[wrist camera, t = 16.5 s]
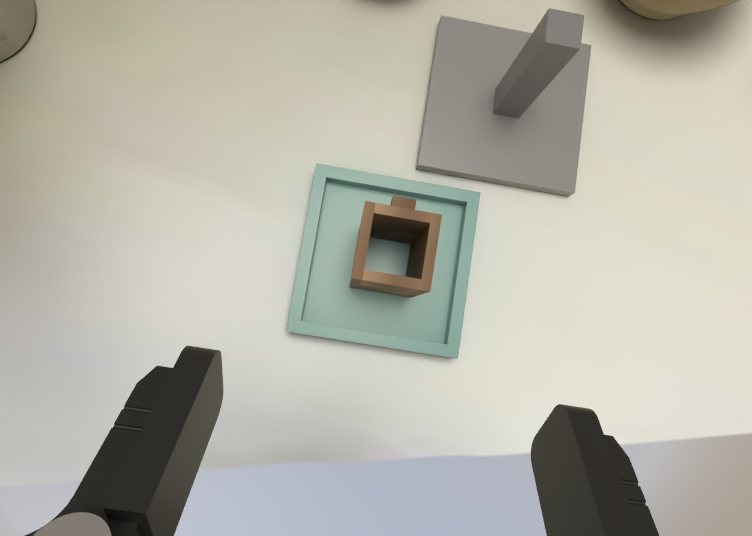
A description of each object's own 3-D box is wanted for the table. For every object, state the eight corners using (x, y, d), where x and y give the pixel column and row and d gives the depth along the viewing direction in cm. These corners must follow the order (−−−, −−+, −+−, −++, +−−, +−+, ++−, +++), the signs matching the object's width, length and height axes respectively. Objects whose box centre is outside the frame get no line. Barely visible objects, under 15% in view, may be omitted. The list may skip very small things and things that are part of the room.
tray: (288, 330, 39) (285, 331, 37) (317, 170, 41) (316, 163, 39) (451, 356, 40) (457, 358, 38) (473, 198, 42) (480, 192, 40)
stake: (416, 169, 42) (446, 109, 30) (438, 23, 43) (475, -89, 31) (568, 196, 42) (656, 148, 30) (584, 52, 44) (674, -46, 32)
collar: (349, 287, 39) (351, 278, 30) (361, 217, 40) (367, 189, 31) (410, 297, 40) (430, 291, 31) (421, 228, 40) (443, 203, 31)
